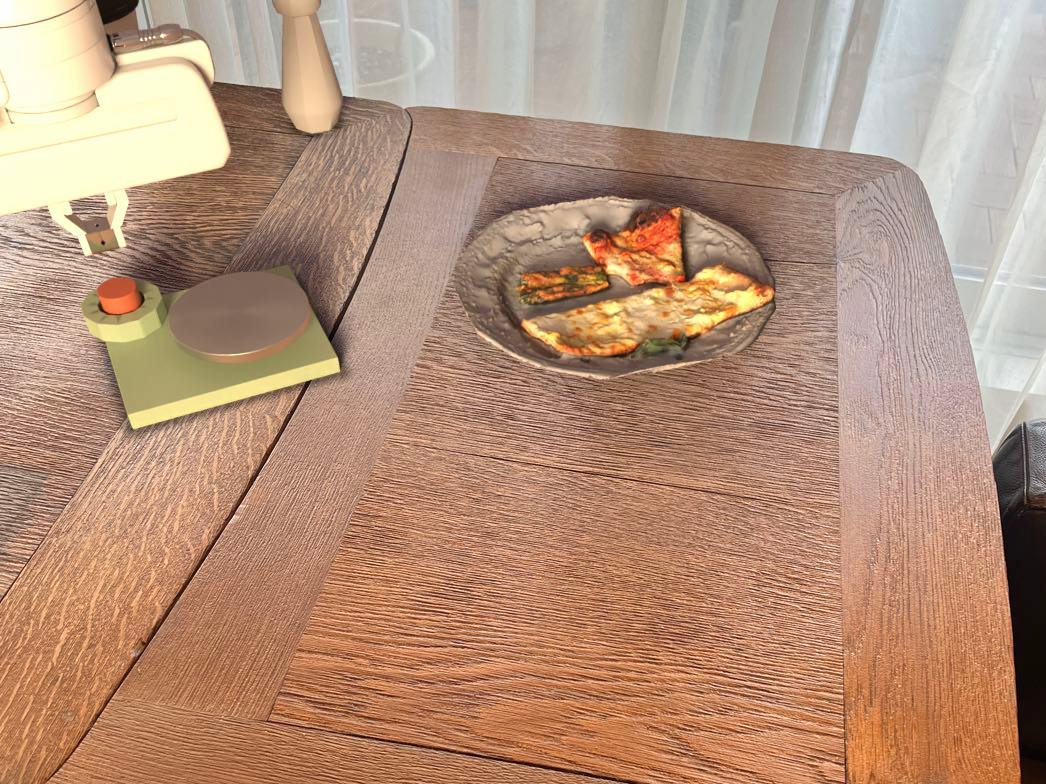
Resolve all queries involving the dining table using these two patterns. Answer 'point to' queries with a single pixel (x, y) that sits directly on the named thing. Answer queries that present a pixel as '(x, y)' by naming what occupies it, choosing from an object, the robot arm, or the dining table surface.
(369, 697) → the dining table surface
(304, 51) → the salt shaker
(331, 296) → the dining table surface
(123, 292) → the button
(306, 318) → the scale pan
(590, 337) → the food plate
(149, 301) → the scale
